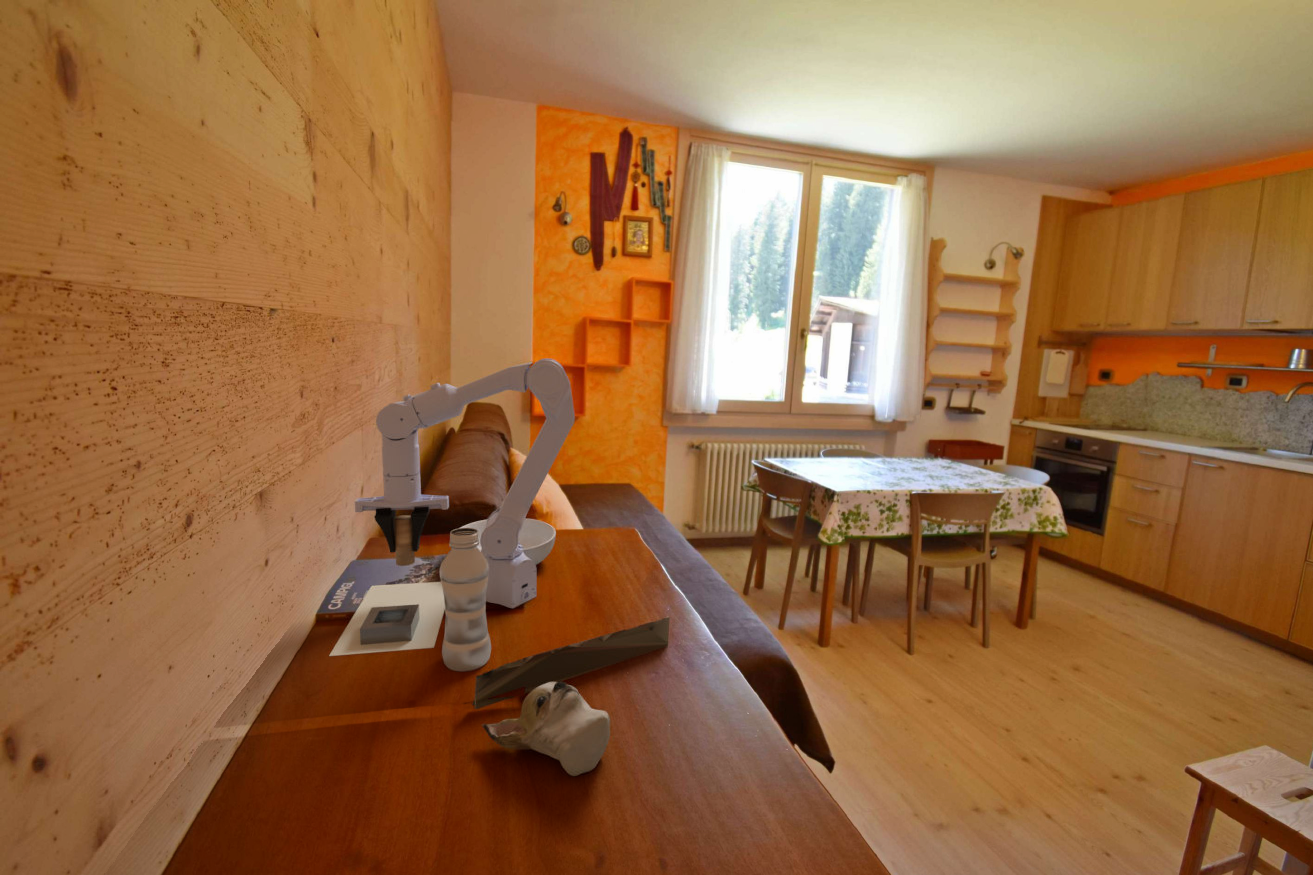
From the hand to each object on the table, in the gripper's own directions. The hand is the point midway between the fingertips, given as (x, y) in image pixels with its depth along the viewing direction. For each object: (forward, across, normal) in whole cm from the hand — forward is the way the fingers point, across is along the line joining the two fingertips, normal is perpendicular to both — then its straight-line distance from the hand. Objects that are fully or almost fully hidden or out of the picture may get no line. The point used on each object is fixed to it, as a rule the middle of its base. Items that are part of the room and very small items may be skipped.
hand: (404, 550), depth 98 cm
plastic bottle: (+10, -12, +22) cm, 27 cm away
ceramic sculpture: (+10, -23, +41) cm, 49 cm away
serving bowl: (+10, -16, -16) cm, 25 cm away
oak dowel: (+2, 0, 0) cm, 2 cm away
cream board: (+10, 0, +6) cm, 11 cm away
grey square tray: (+9, 0, +12) cm, 15 cm away
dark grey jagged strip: (+10, -28, +26) cm, 39 cm away
